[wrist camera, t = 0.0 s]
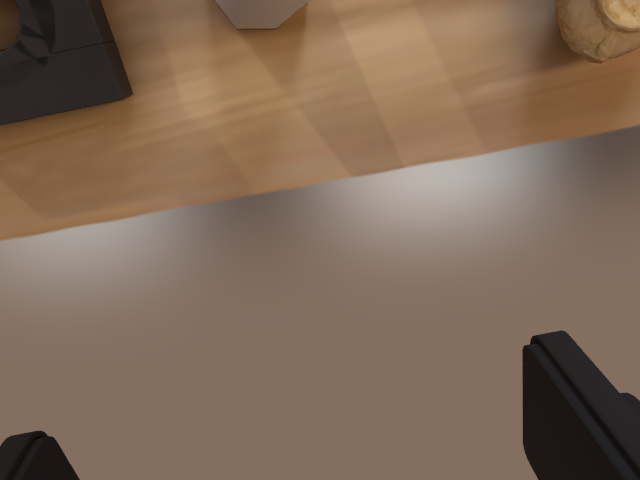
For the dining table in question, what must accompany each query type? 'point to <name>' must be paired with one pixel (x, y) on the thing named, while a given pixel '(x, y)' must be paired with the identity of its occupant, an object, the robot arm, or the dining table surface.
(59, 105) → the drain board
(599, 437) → the robot arm
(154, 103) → the dining table surface
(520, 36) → the dining table surface
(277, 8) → the flask
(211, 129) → the dining table surface
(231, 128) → the dining table surface
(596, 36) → the oil lamp
